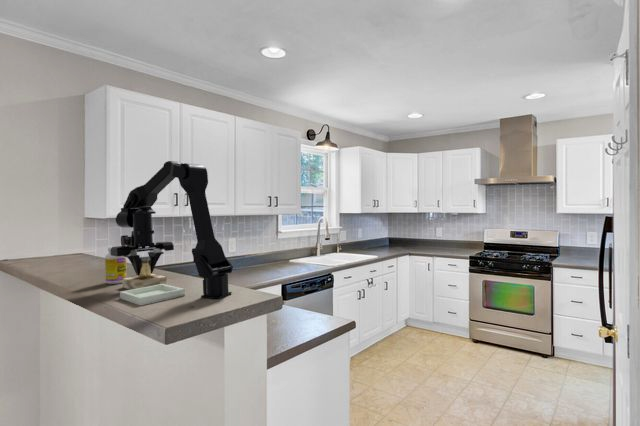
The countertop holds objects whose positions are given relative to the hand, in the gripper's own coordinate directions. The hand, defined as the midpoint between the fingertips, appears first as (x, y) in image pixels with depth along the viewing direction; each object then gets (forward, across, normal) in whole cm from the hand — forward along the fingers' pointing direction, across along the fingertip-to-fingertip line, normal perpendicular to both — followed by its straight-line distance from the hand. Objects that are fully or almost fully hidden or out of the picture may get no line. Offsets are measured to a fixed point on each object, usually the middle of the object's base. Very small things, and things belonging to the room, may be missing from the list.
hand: (144, 274), depth 126 cm
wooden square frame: (+4, 0, 0) cm, 4 cm away
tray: (+4, +6, +17) cm, 18 cm away
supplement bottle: (+4, +3, -16) cm, 17 cm away
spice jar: (+4, 0, 0) cm, 4 cm away
